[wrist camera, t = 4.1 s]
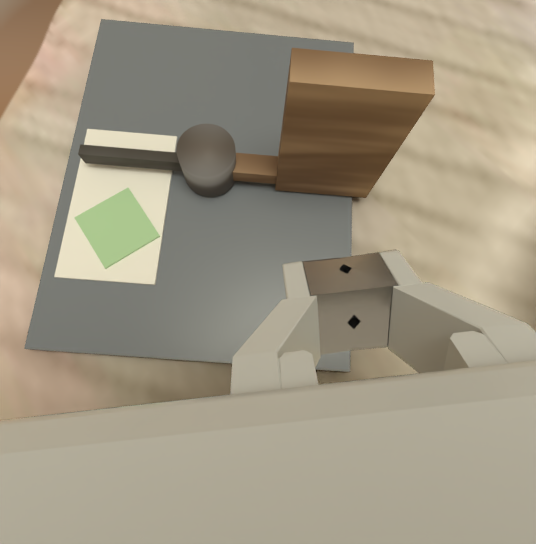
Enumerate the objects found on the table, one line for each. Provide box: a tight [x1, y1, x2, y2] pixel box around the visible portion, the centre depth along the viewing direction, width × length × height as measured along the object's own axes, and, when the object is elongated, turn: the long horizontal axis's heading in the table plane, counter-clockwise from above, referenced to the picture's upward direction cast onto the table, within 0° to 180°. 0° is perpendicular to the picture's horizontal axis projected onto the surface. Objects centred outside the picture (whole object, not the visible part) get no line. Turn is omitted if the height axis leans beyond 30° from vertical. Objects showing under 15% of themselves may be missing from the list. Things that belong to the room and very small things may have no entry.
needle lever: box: [78, 48, 435, 198], centre depth 23 cm, size 4×21×11 cm, turn 86°
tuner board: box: [24, 19, 354, 372], centre depth 29 cm, size 28×22×1 cm
